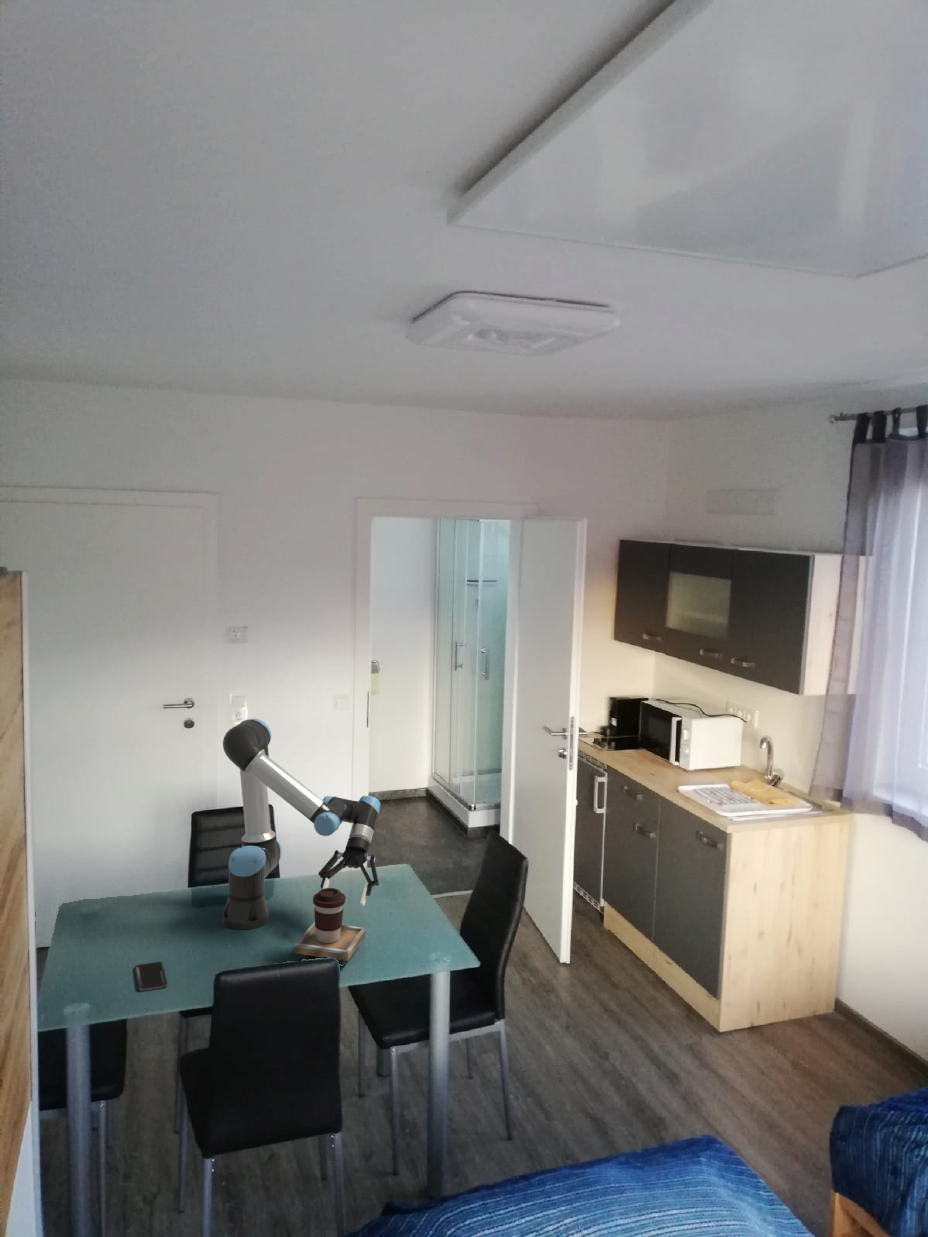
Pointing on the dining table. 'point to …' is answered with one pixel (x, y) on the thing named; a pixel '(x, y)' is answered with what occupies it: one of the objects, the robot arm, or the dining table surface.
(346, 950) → the shallow square tray
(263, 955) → the dining table surface
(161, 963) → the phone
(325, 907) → the coffee cup
